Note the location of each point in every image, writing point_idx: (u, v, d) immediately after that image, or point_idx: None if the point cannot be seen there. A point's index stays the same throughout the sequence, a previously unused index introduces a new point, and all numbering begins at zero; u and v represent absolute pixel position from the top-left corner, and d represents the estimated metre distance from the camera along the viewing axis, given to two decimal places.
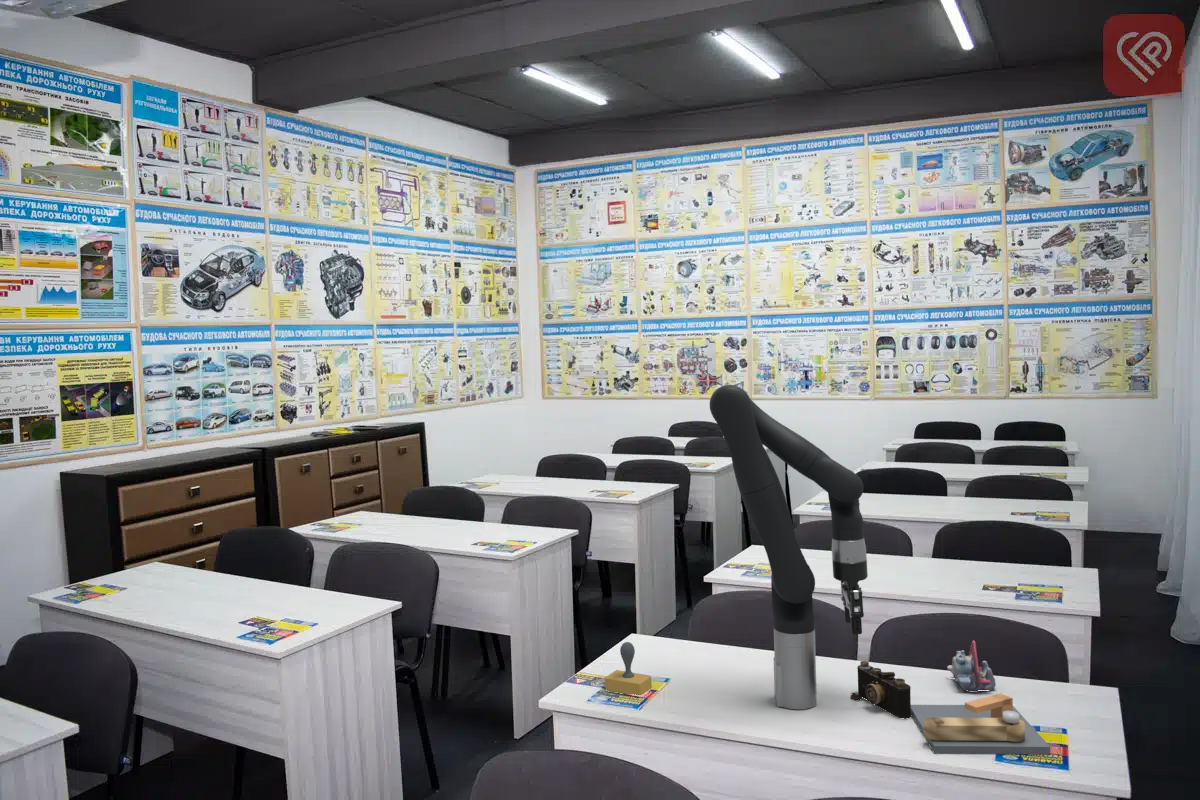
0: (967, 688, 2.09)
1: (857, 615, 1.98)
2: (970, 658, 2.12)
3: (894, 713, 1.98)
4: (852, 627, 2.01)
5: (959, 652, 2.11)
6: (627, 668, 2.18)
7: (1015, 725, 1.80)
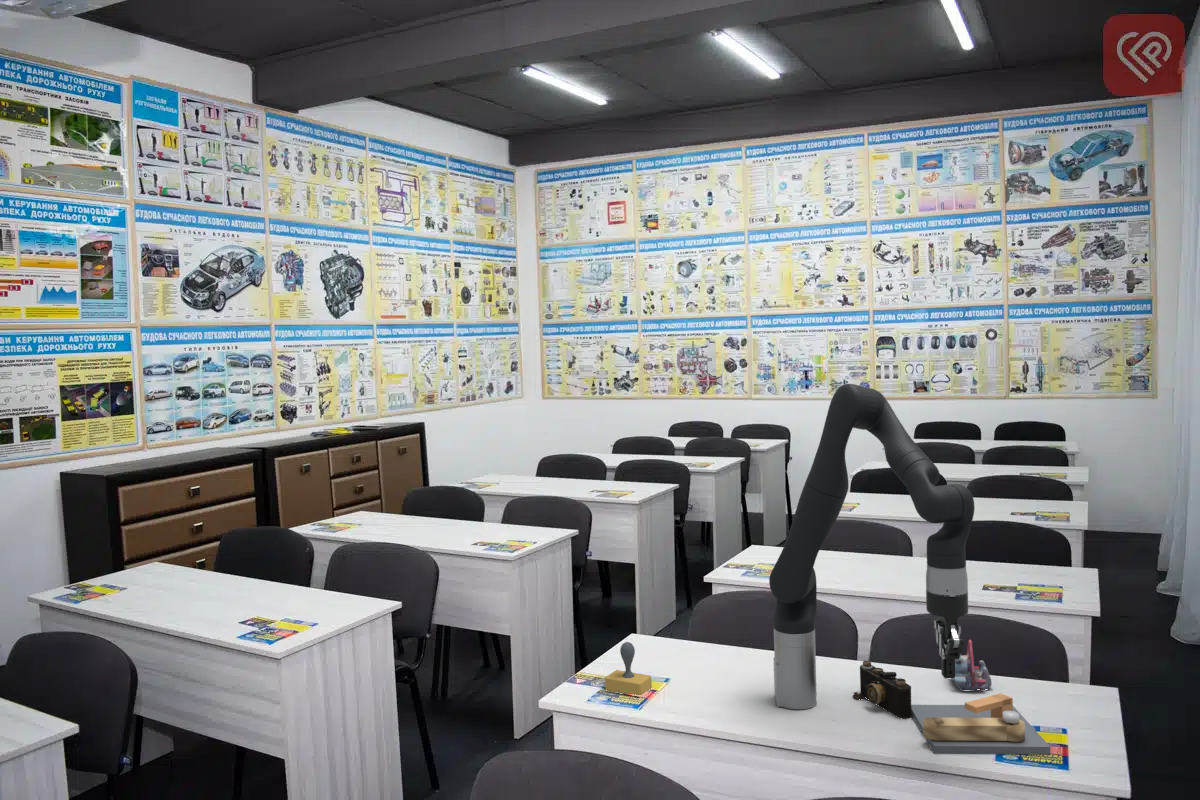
0: (963, 687, 2.10)
1: (952, 658, 1.72)
2: (966, 657, 2.13)
3: (895, 713, 1.98)
4: (944, 670, 1.74)
5: None
6: (627, 668, 2.18)
7: (1015, 725, 1.80)
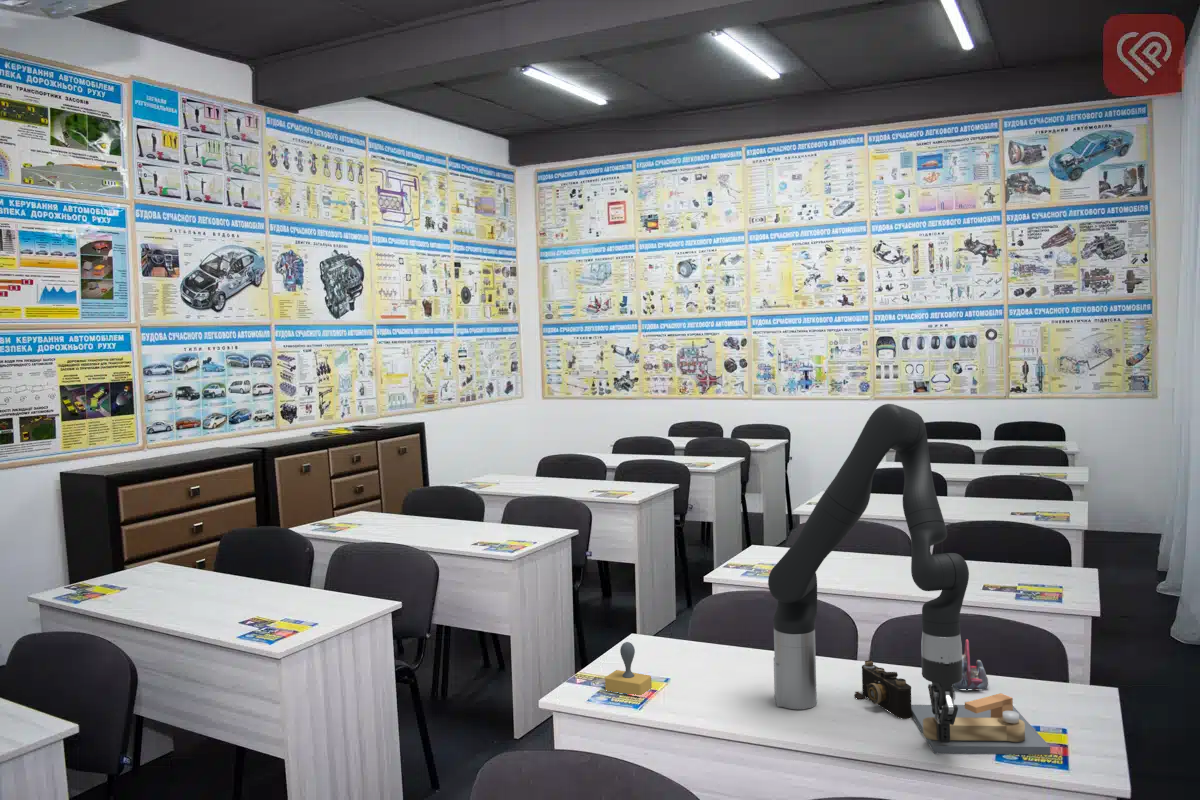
0: (959, 686, 2.11)
1: (946, 724, 1.76)
2: (963, 657, 2.13)
3: (895, 713, 1.98)
4: (939, 734, 1.78)
5: None
6: (627, 668, 2.18)
7: (1015, 725, 1.80)
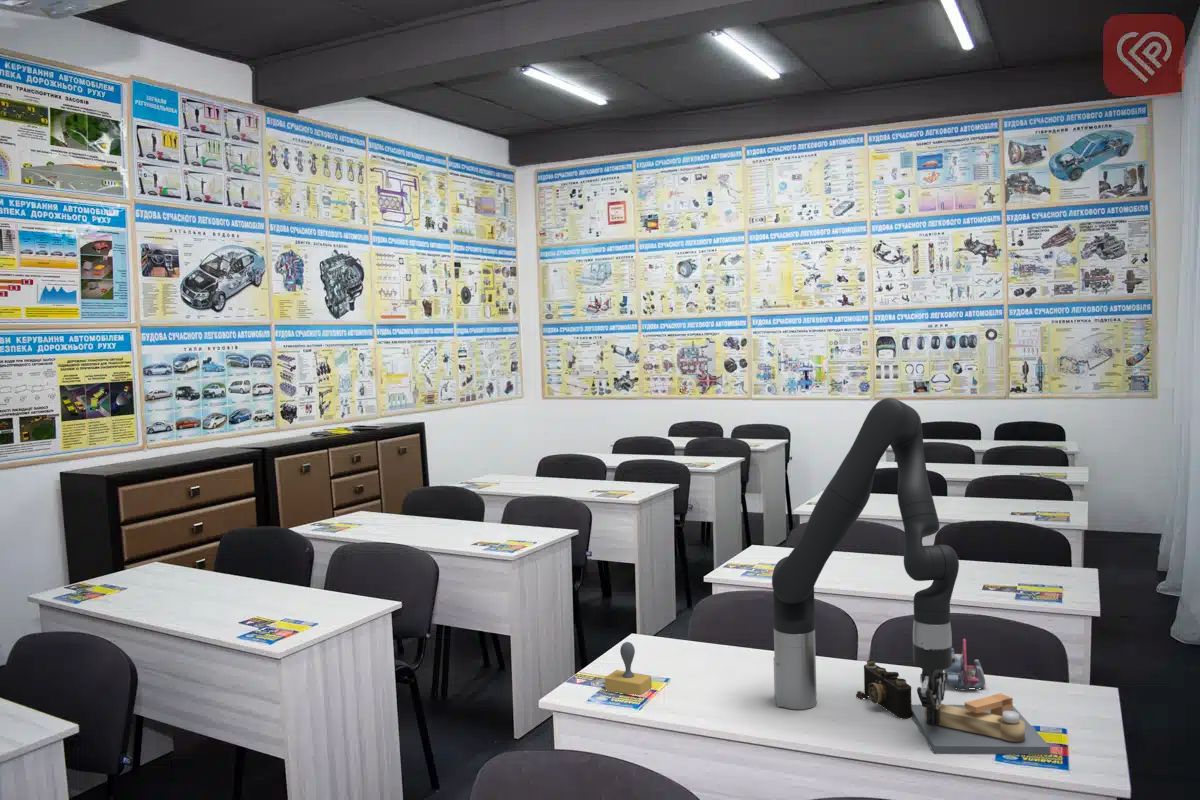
0: (956, 685, 2.11)
1: (928, 707, 1.84)
2: (960, 656, 2.14)
3: (895, 713, 1.98)
4: (927, 717, 1.87)
5: None
6: (627, 668, 2.18)
7: (1010, 725, 1.80)
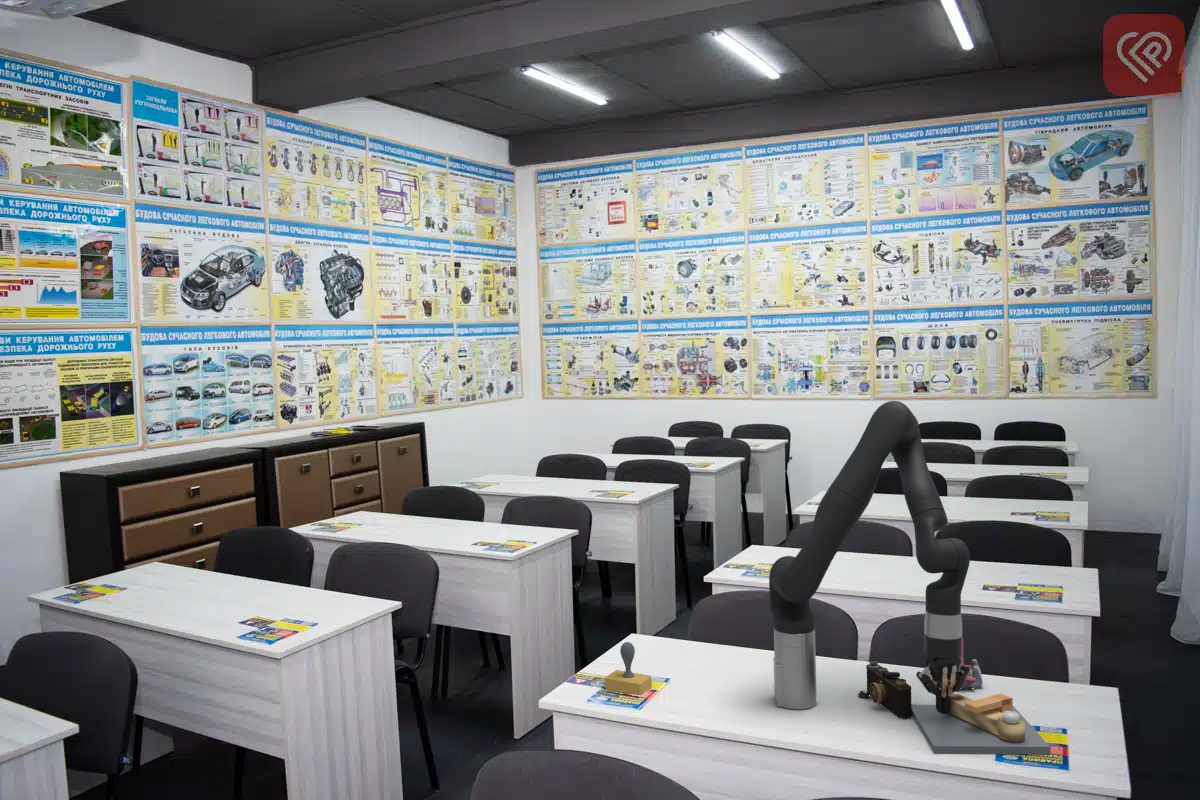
0: None
1: None
2: None
3: (895, 713, 1.98)
4: None
5: None
6: (627, 668, 2.18)
7: (1005, 724, 1.80)
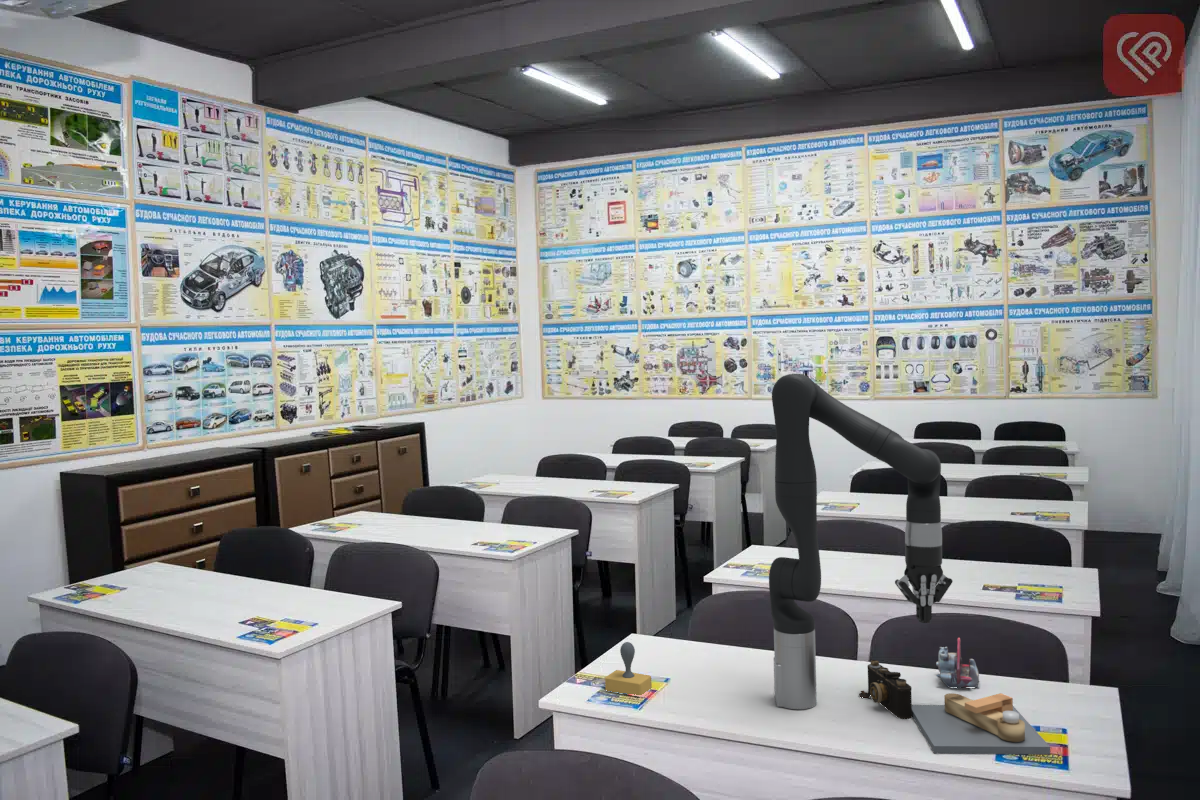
0: (949, 683, 2.12)
1: (911, 601, 1.95)
2: (954, 655, 2.15)
3: (895, 713, 1.98)
4: None
5: (942, 648, 2.14)
6: (627, 668, 2.18)
7: (1005, 724, 1.80)
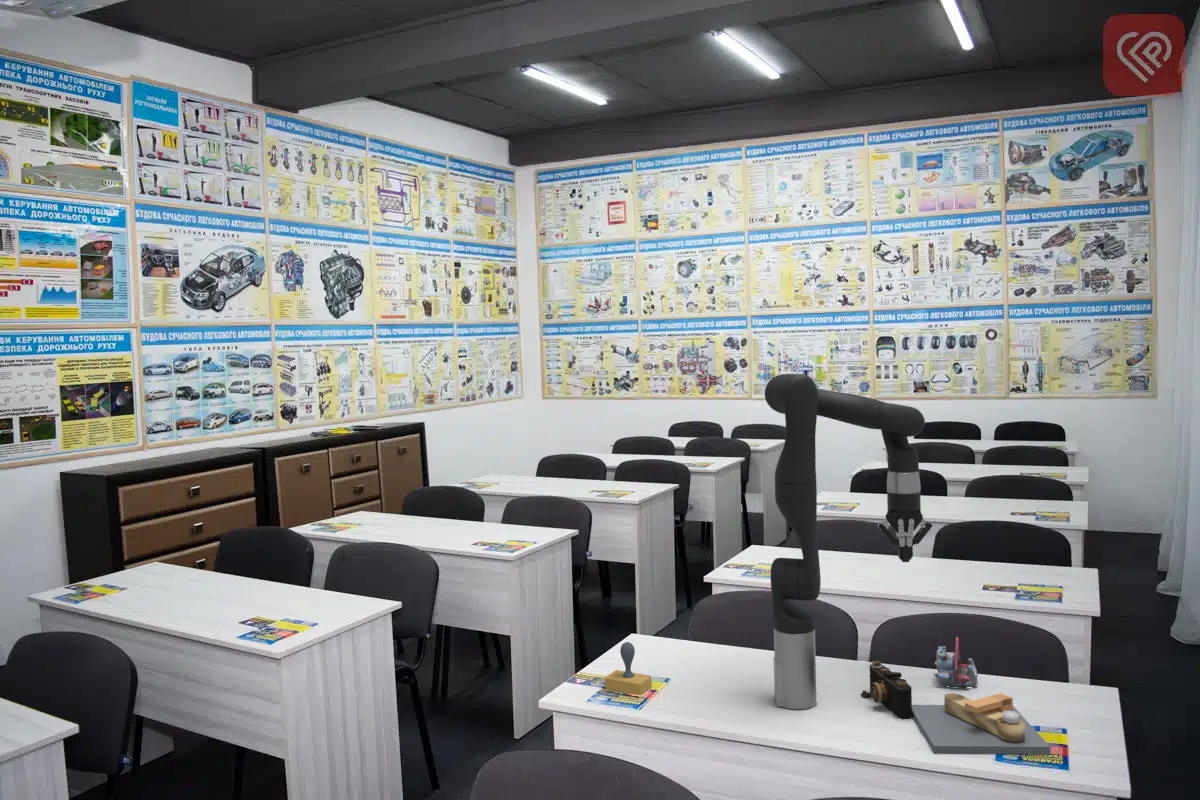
0: (947, 683, 2.13)
1: None
2: (953, 654, 2.15)
3: (895, 713, 1.98)
4: None
5: (940, 648, 2.14)
6: (627, 668, 2.18)
7: (1005, 724, 1.80)
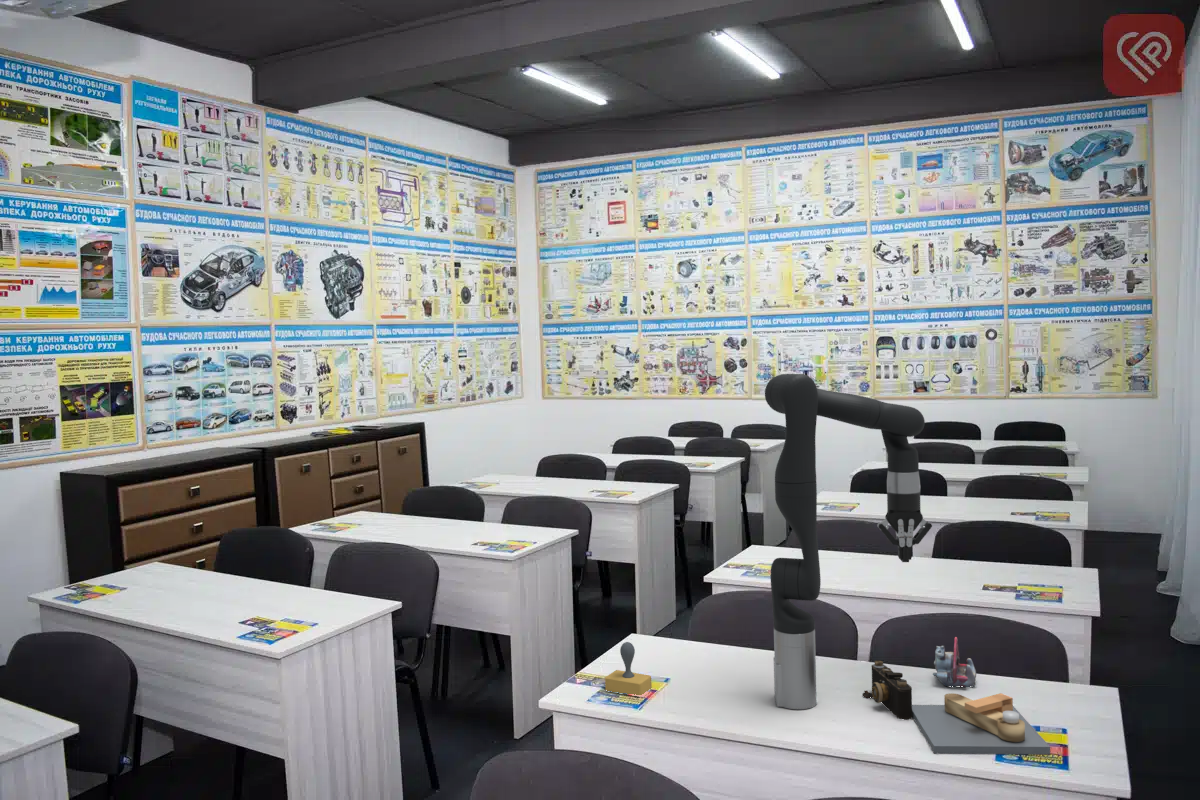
0: (945, 682, 2.13)
1: (891, 542, 2.17)
2: (951, 654, 2.15)
3: (895, 713, 1.98)
4: None
5: (939, 647, 2.15)
6: (627, 668, 2.18)
7: (1005, 724, 1.80)
